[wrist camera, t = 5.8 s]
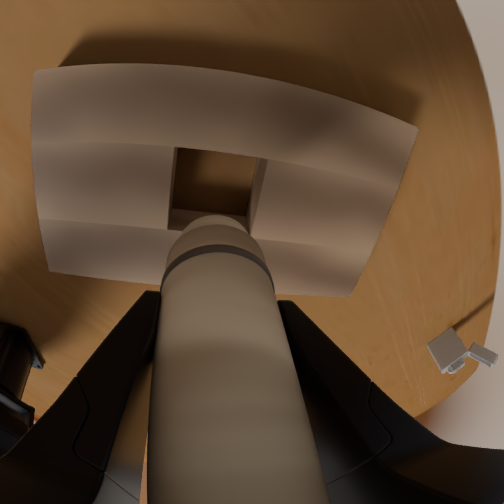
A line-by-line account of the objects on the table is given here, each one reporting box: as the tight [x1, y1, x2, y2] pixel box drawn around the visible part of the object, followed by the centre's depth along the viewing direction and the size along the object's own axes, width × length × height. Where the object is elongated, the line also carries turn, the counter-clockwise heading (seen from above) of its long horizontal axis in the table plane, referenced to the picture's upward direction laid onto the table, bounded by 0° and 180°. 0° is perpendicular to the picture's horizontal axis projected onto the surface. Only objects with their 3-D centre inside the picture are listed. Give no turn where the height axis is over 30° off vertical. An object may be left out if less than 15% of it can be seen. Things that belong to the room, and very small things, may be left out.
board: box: [31, 63, 419, 297], centre depth 15 cm, size 12×20×2 cm, turn 79°
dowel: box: [147, 215, 331, 504], centre depth 6 cm, size 3×3×10 cm
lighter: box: [427, 327, 498, 374], centre depth 27 cm, size 7×2×8 cm, turn 128°
